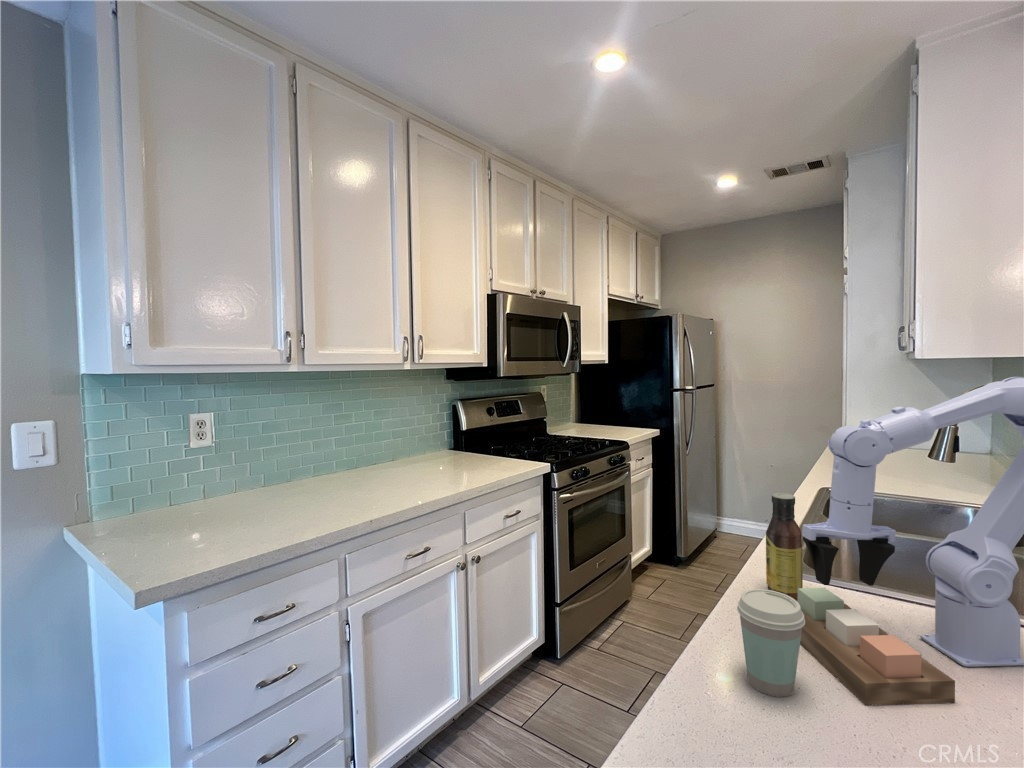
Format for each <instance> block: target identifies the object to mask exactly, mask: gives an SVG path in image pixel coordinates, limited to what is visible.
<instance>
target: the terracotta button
mask: <svg viewBox="0 0 1024 768" xmlns="http://www.w3.org/2000/svg"><path fill="white" fill-rule="evenodd" d="M921 657H922V653H920V652H919V651H917V650H916V649H914V648H913V647H911V646H910V645H908V644H907V643H905V642H904V641H902V640H901V639H900V638H898V637H897V636H895V635H894V634H889V635H872V636H860V658H861V659H862V660H863V661H864V662H866V663H867V664H868V665H869V666H871V667H872V668H873V669H874V670H875V671H877V672H878V673H879V674H880V675H881V676H883V677H884V678H885V679H898V678H921Z"/></svg>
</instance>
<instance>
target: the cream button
mask: <svg viewBox="0 0 1024 768" xmlns="http://www.w3.org/2000/svg"><path fill="white" fill-rule="evenodd" d="M879 626H880V625H879V624H878V623H876V622H875V621H873V620H872V619H871V618H870V617H868V616H866V615H865V614H863V613H862V612H860V611H859V610H858V609H856V608H852V609H838V610H826V630H827V631H828V632H829V633H830V634H832V635H833V636H834V637H835V638H837V639H838V640H839V641H840V642H841V643H843V644H844V645H845V646H846V647H850V646H860V636H872V635H879V628H880V627H879Z"/></svg>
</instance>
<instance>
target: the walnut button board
mask: <svg viewBox="0 0 1024 768" xmlns="http://www.w3.org/2000/svg"><path fill="white" fill-rule="evenodd" d="M844 609H853V608H852V607H850V606H849V605H848V604H846V603H845V602H844ZM802 612H803V614H804V619H805V624H804V626H803V627H802V632H801V640H800V646H802V647H803V649H805V650H806V651H807V652H808V653H809V654H810V655H812V656H813V657H814V659H816V660H817V661H818V662H819V663H820V664H821V665H822V666H823V667H824V668H825V669H826V670H827V671H828V672H829V673H830V674H832V675H833V676H834V677H835V679H836V680H838V681H839V682H840V683H841V684H842V685H843V686H844V687H845V688H846V689H848V691H850V693H852V694H853V695H854V696H855V697H856V698H857V699H858V700H859V701H860V702H861V703H863V704H864V705H865V706H891V705H892V706H894V705H898V706H899V705H928V704H929V705H930V704H955V703H956V700H955V699H956V680H955V679H953V678H952V677H950V676H949V675H948V674H946V673H945V672H943V671H942V670H940V669H939V668H937V667H936V666H934V665H933V664H932V663H931V662H928V660H926V659H925V658H923V657H922V656H921V678H898V679H885V678H884V677H883V676H881V675H880V674H879V673H878V672H877V671H875V670H874V669H873V668H872V667H871V666H869V665H868V664H867V663H866V662H864V661H863V660H862V659H861V658H860V646H850V647H846V646H845V645H844V644H843V643H841V642H840V641H839V640H838V639H837V638H835V637H834V636H833V635H832V634H830V633H829V632H828V631H827V630H826V620H813V619H812V618H811V617H810V616H809V615H807V614H806V613H805V612H804V611H803V610H802ZM879 635H890V634H888V633H887V632H886V631H884V630H883V629H882V628H880V627H879Z"/></svg>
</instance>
